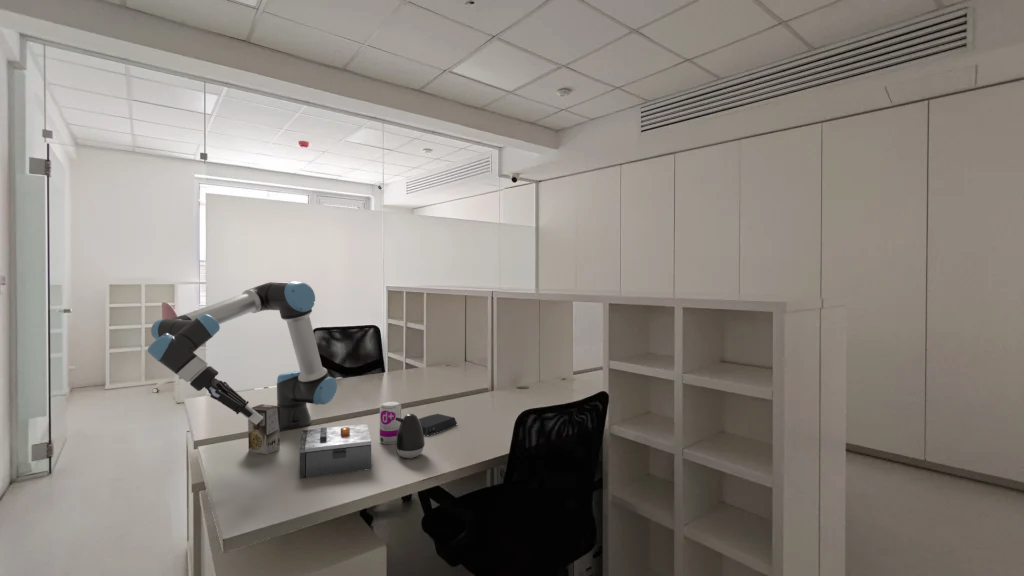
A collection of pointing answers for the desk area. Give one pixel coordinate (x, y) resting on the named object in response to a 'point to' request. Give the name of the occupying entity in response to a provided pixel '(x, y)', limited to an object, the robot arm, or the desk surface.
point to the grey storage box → (338, 460)
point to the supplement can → (389, 421)
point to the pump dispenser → (409, 436)
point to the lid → (332, 440)
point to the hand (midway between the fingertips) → (259, 420)
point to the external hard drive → (436, 423)
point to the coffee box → (265, 430)
